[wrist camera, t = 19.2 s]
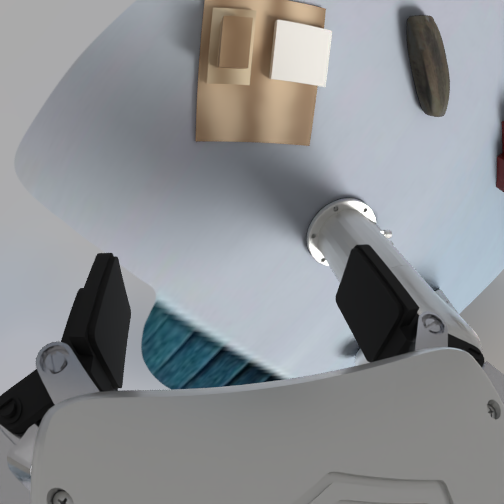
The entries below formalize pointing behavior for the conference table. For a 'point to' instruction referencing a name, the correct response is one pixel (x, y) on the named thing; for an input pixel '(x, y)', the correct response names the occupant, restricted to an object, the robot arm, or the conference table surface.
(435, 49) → the decorative stone
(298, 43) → the tile
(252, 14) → the wooden float
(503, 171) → the toy houses
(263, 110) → the cork mat
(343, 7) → the conference table surface
